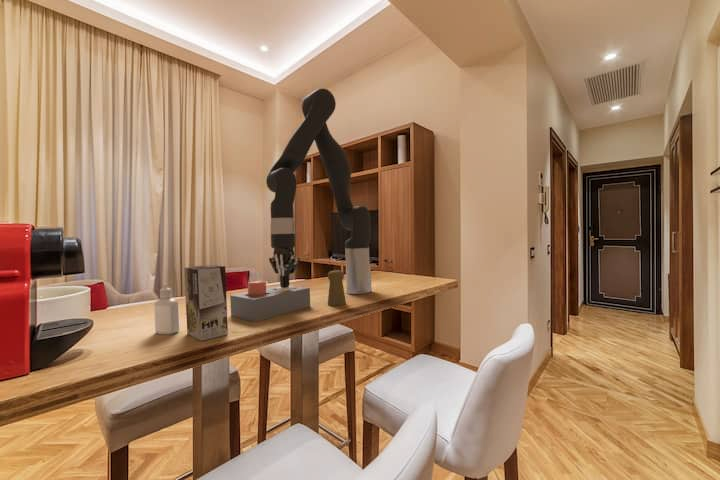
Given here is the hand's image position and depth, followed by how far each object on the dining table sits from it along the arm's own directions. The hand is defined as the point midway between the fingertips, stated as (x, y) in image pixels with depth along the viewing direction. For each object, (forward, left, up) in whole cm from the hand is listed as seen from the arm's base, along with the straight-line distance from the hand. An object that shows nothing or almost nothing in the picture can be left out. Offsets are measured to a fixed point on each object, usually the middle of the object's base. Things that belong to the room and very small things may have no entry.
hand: (284, 287), depth 97 cm
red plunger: (+10, 0, -3) cm, 10 cm away
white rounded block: (0, 0, -6) cm, 6 cm away
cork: (-12, +11, -7) cm, 18 cm away
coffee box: (+27, +5, -7) cm, 28 cm away
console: (+5, 0, -6) cm, 8 cm away
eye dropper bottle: (+32, -5, -7) cm, 33 cm away
